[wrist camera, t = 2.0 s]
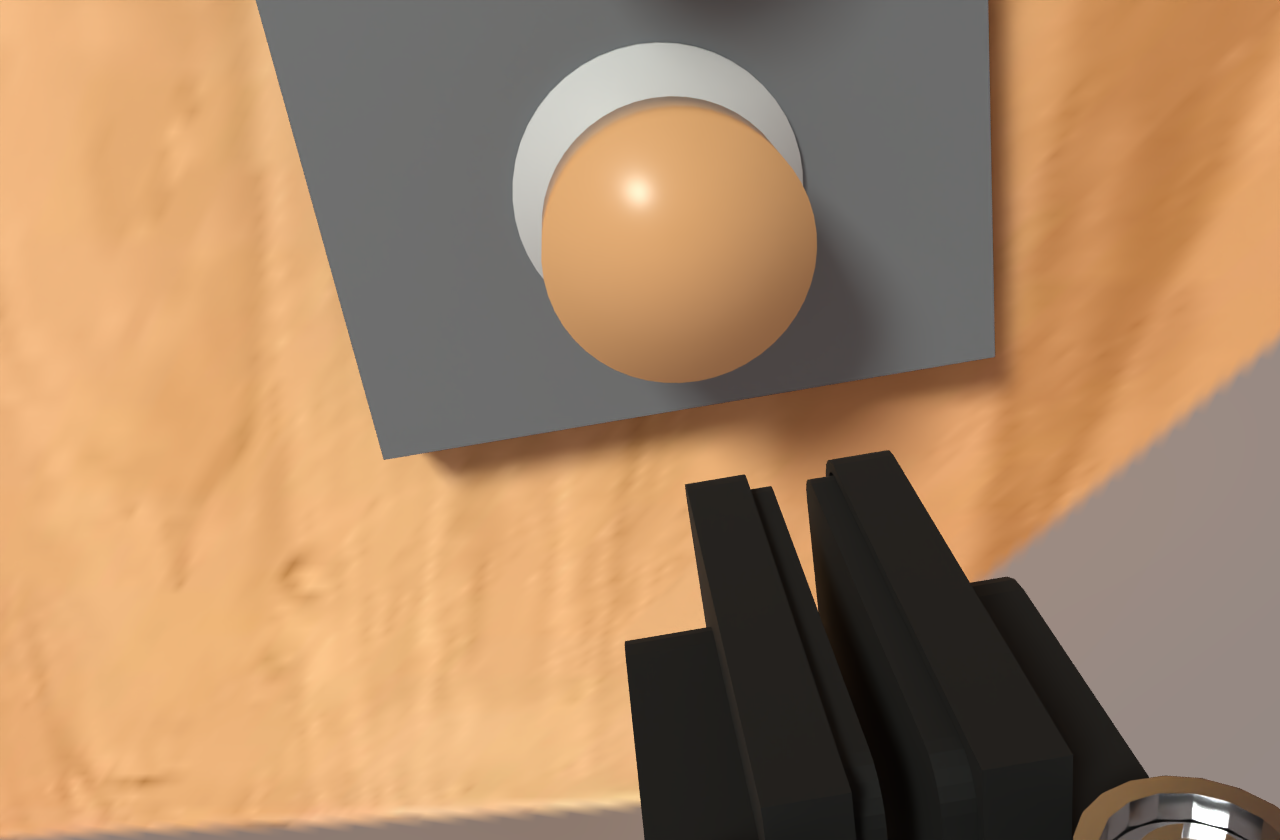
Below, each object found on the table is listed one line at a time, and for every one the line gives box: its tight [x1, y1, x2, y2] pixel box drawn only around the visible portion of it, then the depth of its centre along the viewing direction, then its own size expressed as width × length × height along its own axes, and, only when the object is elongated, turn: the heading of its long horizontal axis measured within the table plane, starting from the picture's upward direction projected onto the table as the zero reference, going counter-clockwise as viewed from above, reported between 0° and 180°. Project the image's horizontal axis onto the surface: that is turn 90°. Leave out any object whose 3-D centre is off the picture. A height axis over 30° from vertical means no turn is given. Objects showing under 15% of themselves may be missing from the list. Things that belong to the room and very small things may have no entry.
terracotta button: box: [541, 96, 817, 383], centre depth 21 cm, size 5×5×3 cm
